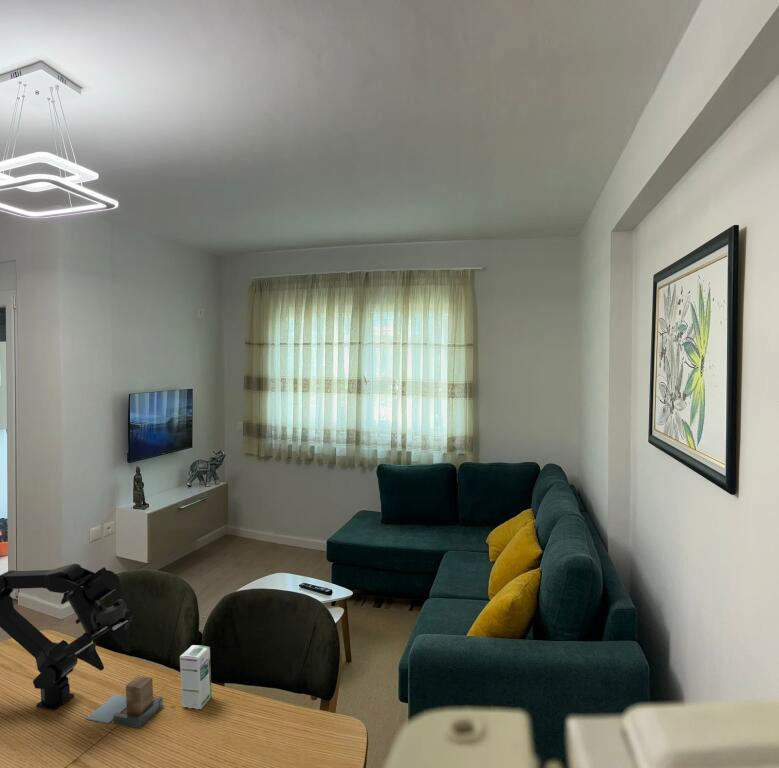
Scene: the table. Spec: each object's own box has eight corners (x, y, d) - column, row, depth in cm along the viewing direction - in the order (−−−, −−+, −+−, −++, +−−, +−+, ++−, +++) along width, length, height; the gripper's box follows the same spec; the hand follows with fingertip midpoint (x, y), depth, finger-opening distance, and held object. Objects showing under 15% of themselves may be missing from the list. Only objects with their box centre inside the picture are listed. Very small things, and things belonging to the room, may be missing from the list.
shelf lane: (113, 723, 138) (113, 713, 138) (137, 701, 147) (137, 692, 147) (139, 728, 136) (139, 718, 136) (162, 705, 145) (162, 696, 145)
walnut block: (127, 718, 140) (125, 685, 139) (139, 707, 144) (137, 675, 144) (141, 721, 139) (140, 688, 138) (153, 710, 143) (152, 677, 142)
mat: (86, 719, 140) (86, 718, 140) (114, 695, 149) (114, 694, 149) (108, 723, 138) (108, 722, 138) (136, 699, 148) (135, 698, 148)
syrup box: (200, 710, 143) (199, 657, 142) (180, 707, 144) (179, 655, 143) (212, 697, 148) (210, 646, 148) (192, 694, 150) (191, 643, 149)
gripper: (79, 609, 133) (110, 665, 131) (133, 580, 151) (160, 629, 149) (50, 630, 136) (79, 685, 134) (106, 599, 154) (133, 647, 152)
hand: (115, 660), depth 142 cm, fingers open, 9 cm apart
